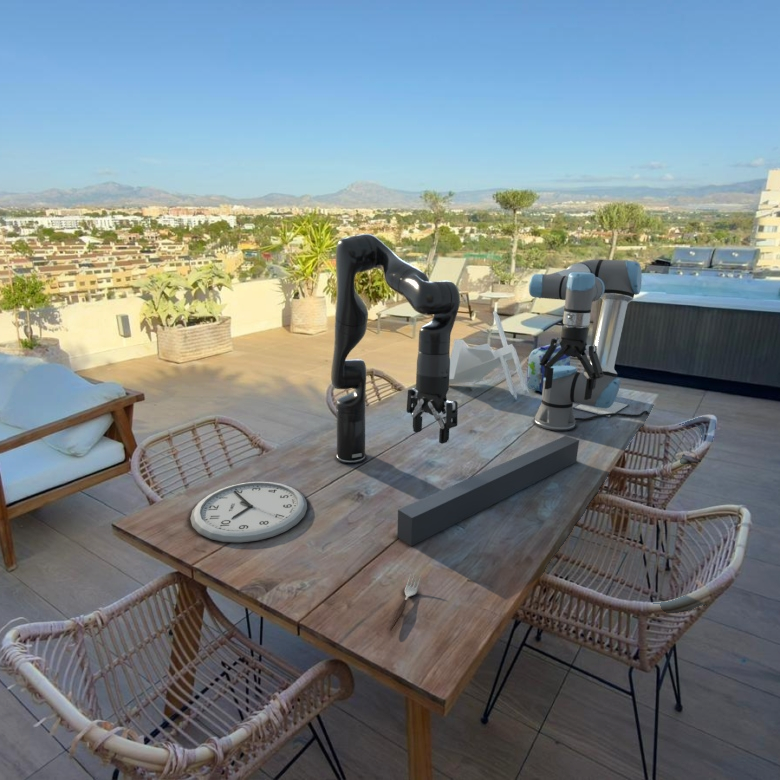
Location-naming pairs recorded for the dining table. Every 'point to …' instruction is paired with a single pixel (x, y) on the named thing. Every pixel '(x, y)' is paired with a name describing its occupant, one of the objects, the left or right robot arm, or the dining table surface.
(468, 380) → the white plastic object
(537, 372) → the lunch box
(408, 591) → the fork
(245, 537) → the wall clock
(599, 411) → the invitation card
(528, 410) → the dining table surface
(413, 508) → the beam
